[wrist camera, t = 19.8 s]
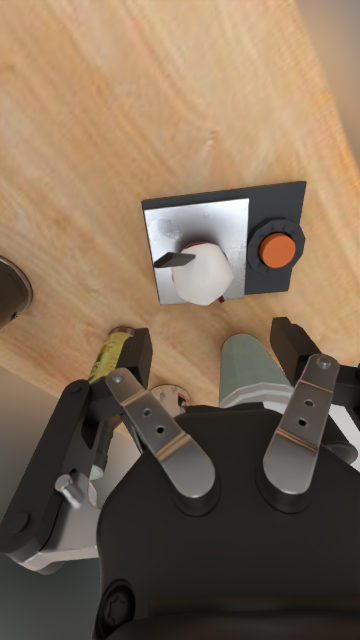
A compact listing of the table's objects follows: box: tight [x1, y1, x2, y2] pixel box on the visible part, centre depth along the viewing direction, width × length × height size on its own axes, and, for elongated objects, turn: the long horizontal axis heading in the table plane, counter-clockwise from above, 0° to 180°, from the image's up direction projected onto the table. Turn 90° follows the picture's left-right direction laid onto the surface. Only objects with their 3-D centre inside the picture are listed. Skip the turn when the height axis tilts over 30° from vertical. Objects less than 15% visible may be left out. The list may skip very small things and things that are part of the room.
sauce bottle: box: [87, 327, 135, 480], centre depth 30 cm, size 7×6×20 cm
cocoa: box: [153, 241, 234, 305], centre depth 22 cm, size 10×6×12 cm, turn 14°
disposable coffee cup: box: [219, 333, 294, 414], centre depth 32 cm, size 11×11×15 cm
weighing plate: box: [144, 198, 249, 305], centre depth 27 cm, size 11×12×1 cm
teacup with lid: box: [151, 385, 190, 418], centre depth 41 cm, size 12×9×12 cm
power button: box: [259, 233, 295, 268], centre depth 26 cm, size 4×4×2 cm
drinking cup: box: [286, 376, 358, 465], centre depth 35 cm, size 8×8×20 cm
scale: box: [141, 181, 306, 302], centre depth 28 cm, size 18×13×3 cm
